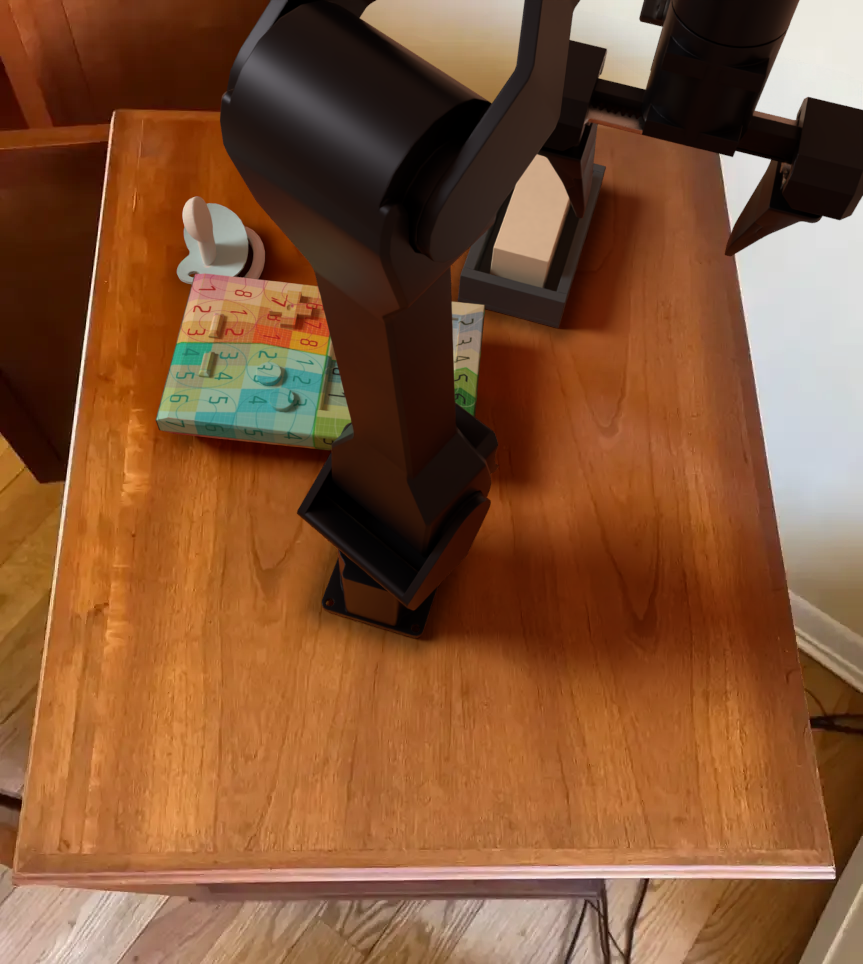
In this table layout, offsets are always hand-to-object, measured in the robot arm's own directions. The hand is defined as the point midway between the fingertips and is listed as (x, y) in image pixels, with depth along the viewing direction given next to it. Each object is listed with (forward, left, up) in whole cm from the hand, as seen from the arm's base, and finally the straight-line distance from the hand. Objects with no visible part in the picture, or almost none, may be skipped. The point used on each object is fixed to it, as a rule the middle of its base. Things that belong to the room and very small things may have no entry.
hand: (654, 231), depth 62 cm
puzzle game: (-10, +18, -12) cm, 24 cm away
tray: (+7, +8, -12) cm, 16 cm away
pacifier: (-2, +29, -12) cm, 32 cm away
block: (+2, +8, -10) cm, 13 cm away
